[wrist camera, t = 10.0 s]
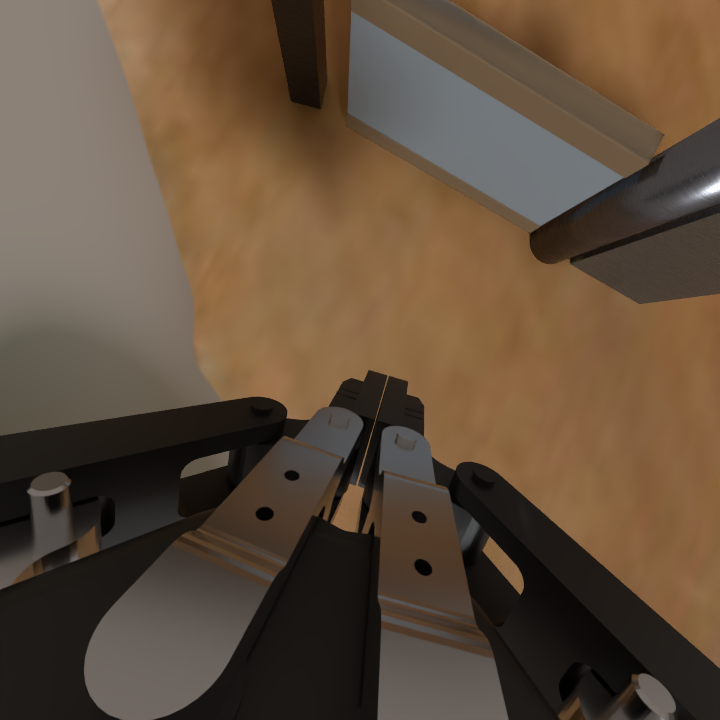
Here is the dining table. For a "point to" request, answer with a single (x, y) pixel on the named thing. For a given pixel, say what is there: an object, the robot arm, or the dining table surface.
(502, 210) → the gate
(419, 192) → the dining table surface
